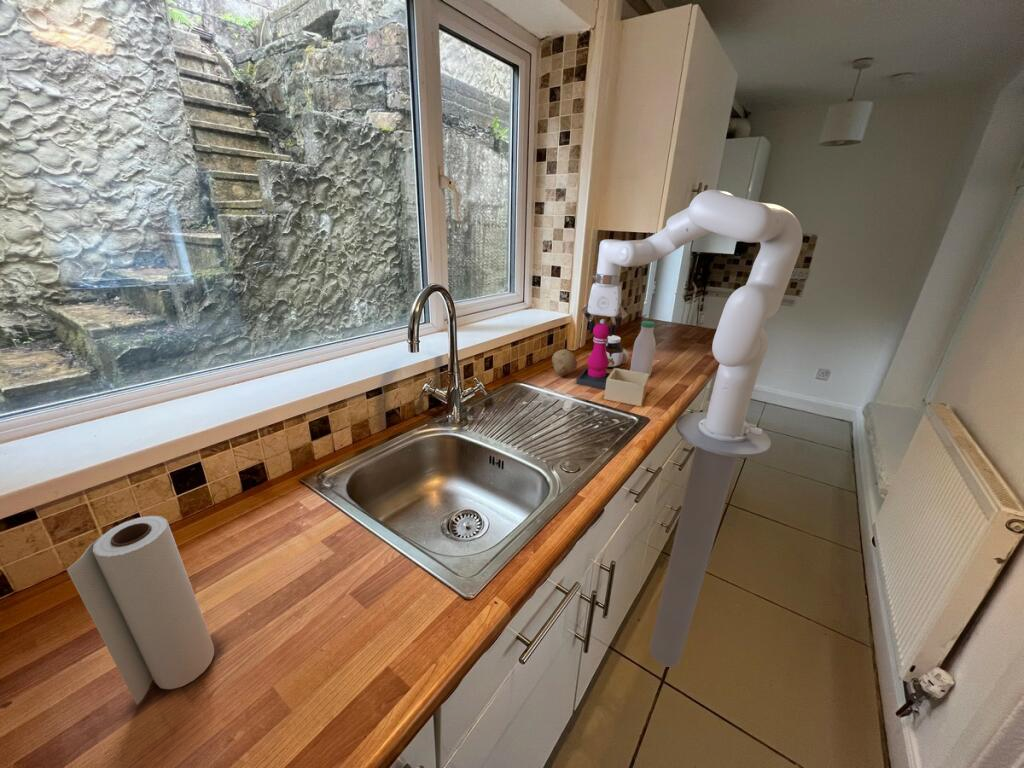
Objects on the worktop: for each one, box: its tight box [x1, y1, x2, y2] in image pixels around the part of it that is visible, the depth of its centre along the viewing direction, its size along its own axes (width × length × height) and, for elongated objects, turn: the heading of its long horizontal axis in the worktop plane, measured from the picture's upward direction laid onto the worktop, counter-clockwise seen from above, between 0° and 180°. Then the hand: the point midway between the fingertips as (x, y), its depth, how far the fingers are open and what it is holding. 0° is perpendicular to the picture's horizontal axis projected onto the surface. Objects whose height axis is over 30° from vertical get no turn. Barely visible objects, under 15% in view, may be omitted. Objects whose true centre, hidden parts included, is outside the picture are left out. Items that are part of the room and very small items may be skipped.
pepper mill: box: [587, 318, 610, 378], centre depth 140 cm, size 7×7×20 cm
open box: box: [603, 367, 651, 407], centre depth 132 cm, size 12×12×7 cm
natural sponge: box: [551, 348, 578, 377], centre depth 147 cm, size 9×9×10 cm
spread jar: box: [606, 334, 630, 370], centre depth 159 cm, size 12×11×12 cm
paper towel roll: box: [65, 515, 215, 705], centre depth 47 cm, size 7×6×21 cm
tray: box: [576, 368, 611, 390], centre depth 144 cm, size 11×11×2 cm
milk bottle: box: [629, 320, 657, 377], centre depth 149 cm, size 8×8×20 cm
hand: (601, 333), depth 138 cm, fingers closed on pepper mill, 6 cm apart
